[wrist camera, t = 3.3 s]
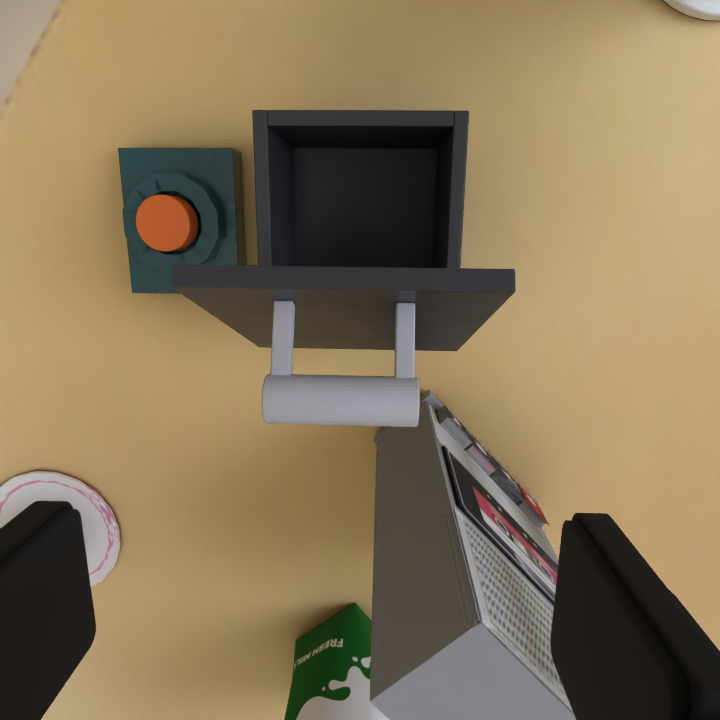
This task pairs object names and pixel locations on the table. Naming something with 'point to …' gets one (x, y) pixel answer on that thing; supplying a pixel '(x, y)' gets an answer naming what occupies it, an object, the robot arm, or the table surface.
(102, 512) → the teacup
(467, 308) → the lid
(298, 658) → the milk carton
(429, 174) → the open dark grey box
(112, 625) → the table surface
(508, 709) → the ribbed grey cuboid
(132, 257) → the control block
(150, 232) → the button
